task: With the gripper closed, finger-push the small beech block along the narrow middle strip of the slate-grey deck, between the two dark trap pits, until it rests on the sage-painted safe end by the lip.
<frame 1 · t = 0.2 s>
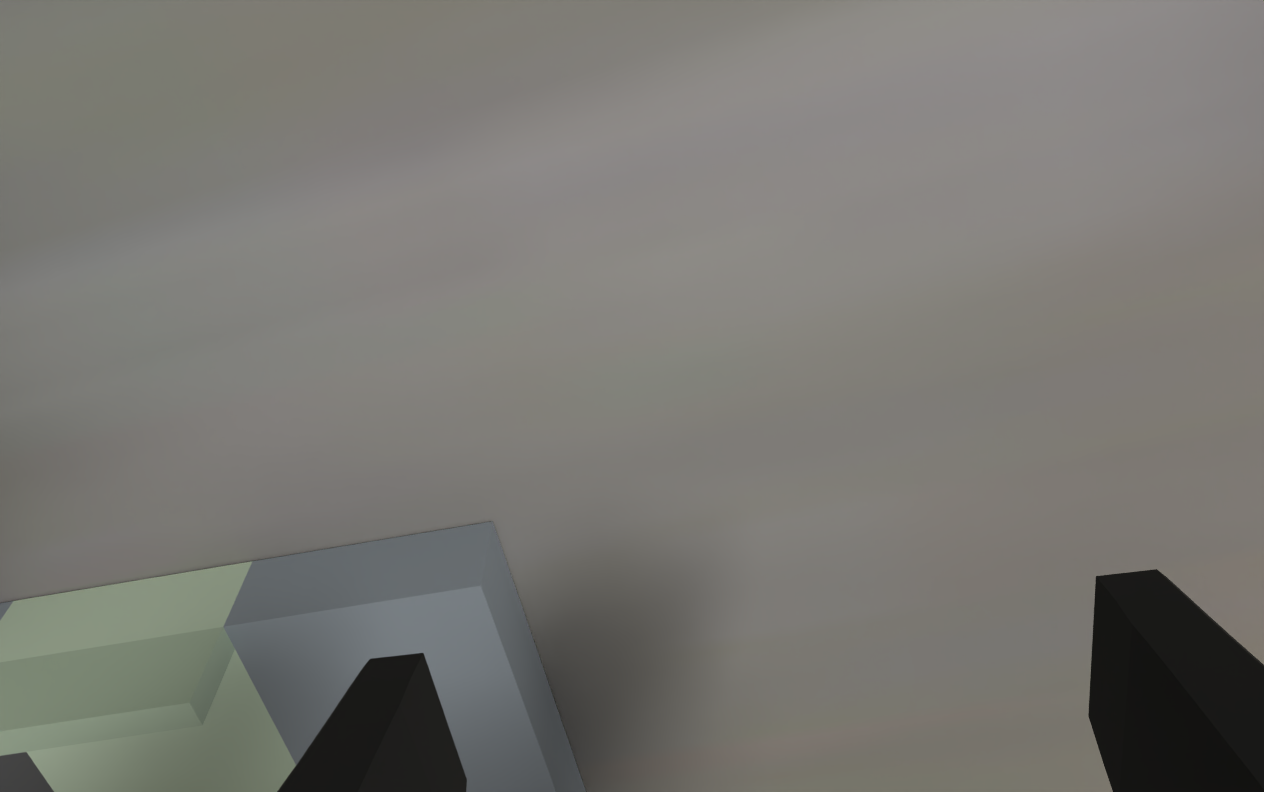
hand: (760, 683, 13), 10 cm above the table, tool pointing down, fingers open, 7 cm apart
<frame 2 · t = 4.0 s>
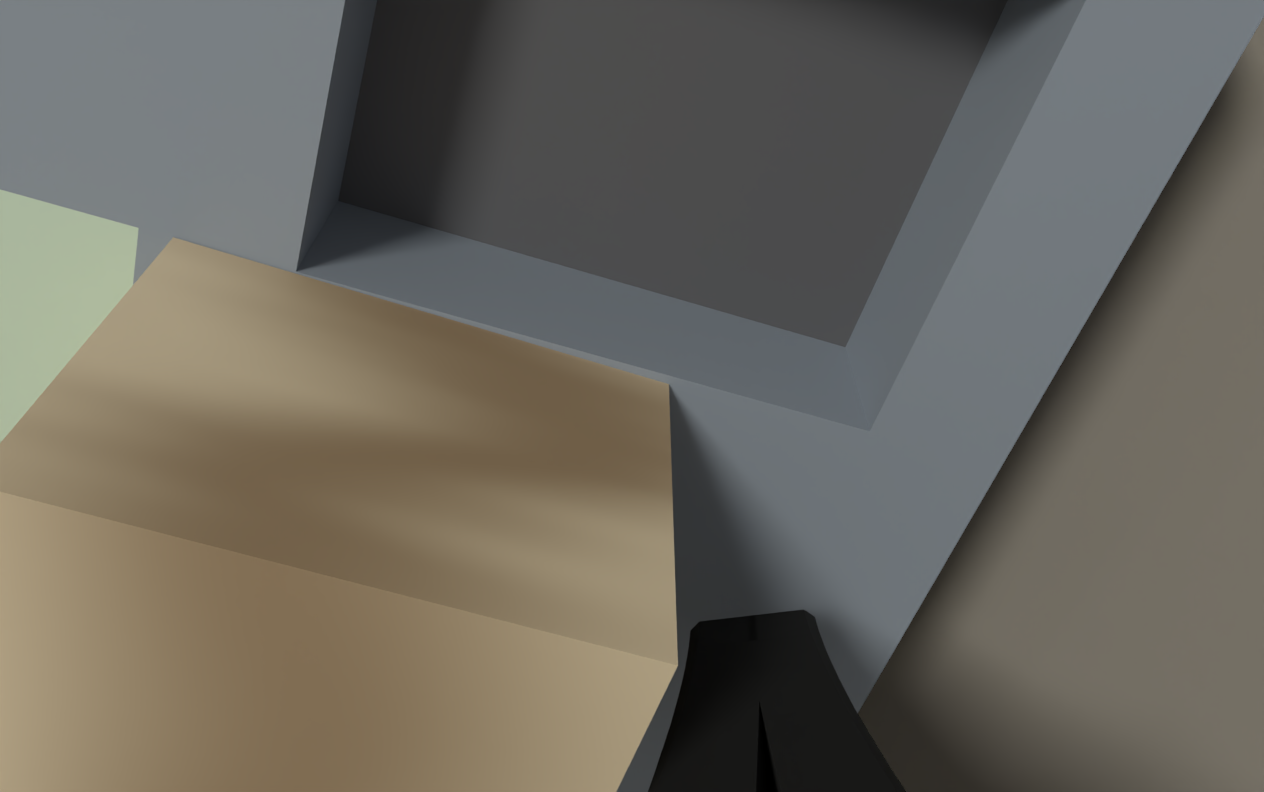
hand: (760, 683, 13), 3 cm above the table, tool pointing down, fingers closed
deck: (302, 395, 14), on the table
beech block: (375, 506, 13), point 2 cm above the table, touching gripper
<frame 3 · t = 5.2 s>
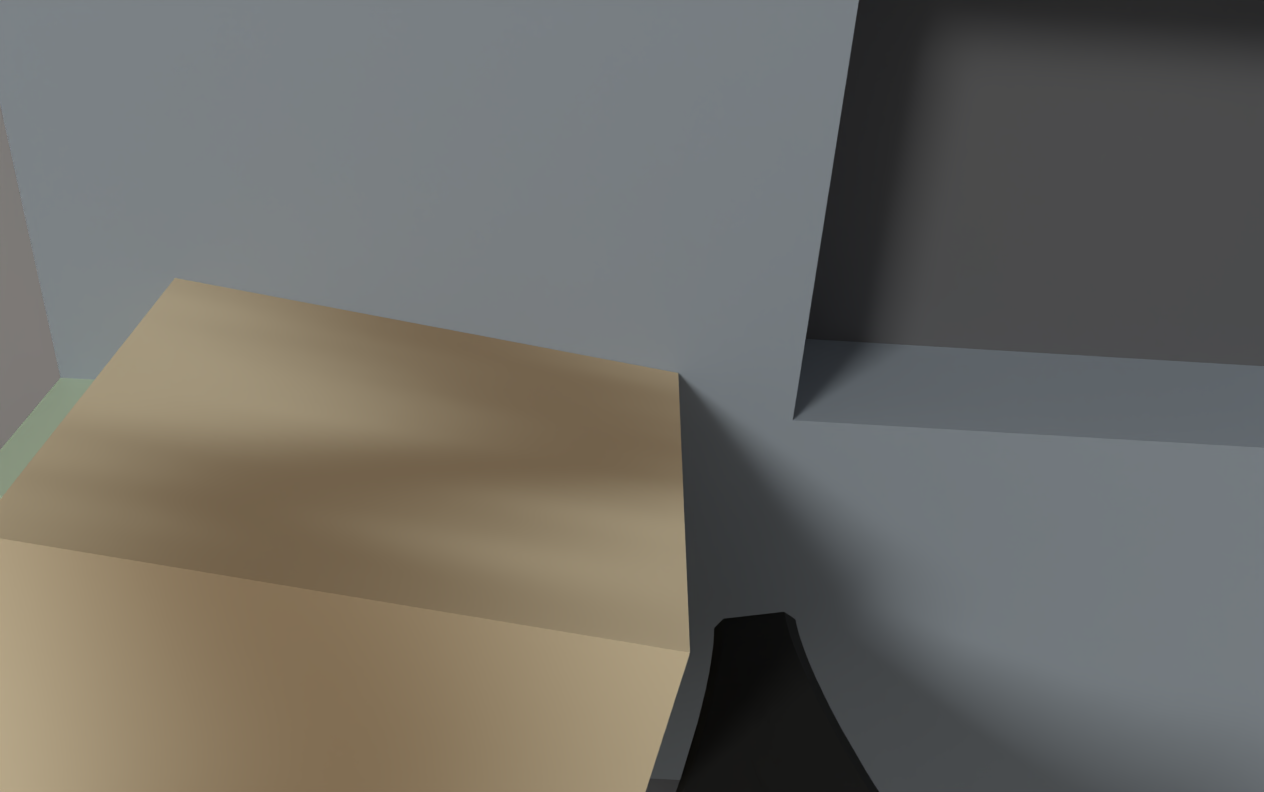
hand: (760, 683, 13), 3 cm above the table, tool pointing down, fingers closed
deck: (748, 515, 15), on the table
beech block: (404, 523, 13), point 2 cm above the table, touching deck, gripper
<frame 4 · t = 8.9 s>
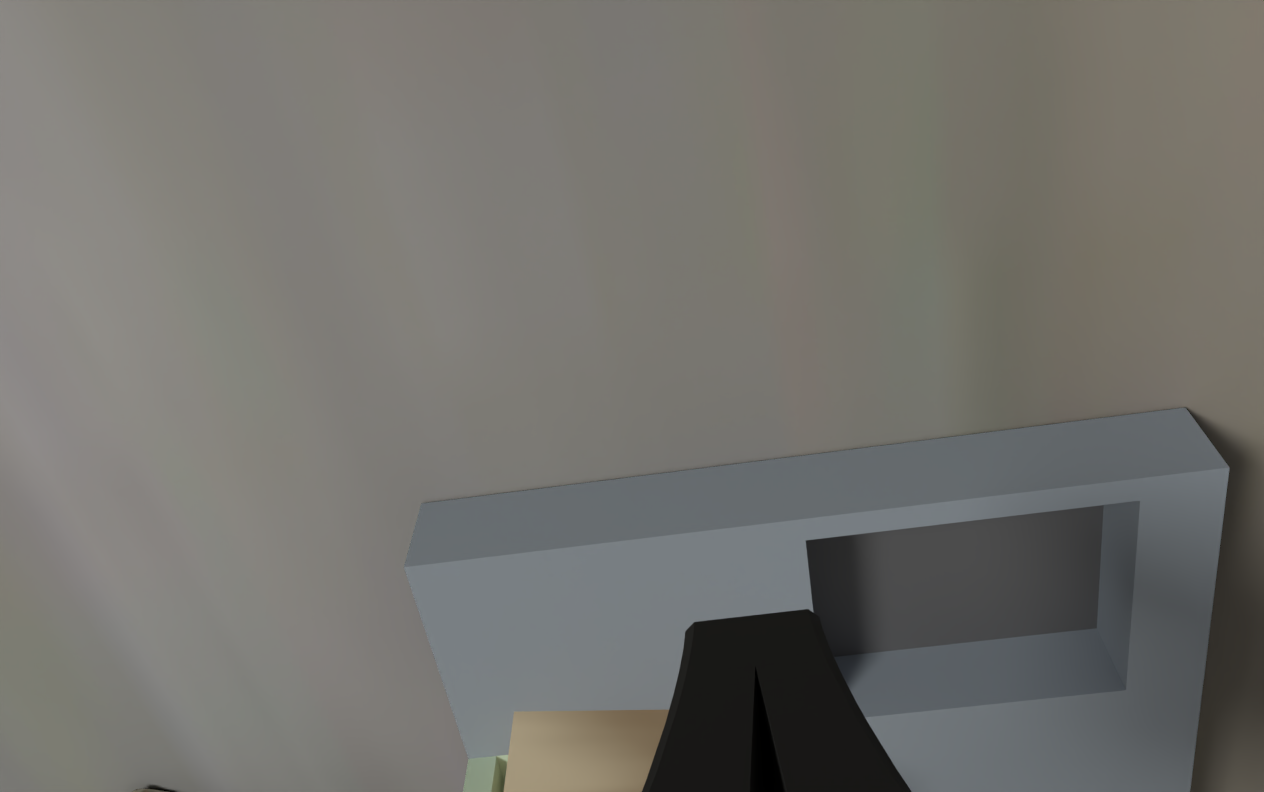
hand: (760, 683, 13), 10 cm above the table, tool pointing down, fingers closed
deck: (823, 739, 27), on the table
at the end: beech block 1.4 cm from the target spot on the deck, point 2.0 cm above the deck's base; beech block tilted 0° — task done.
